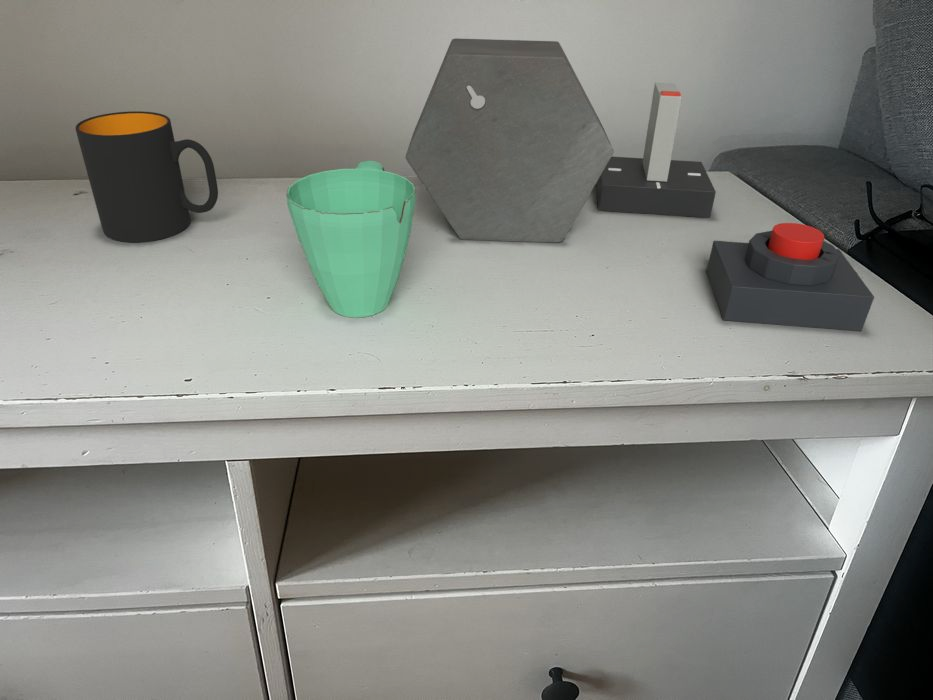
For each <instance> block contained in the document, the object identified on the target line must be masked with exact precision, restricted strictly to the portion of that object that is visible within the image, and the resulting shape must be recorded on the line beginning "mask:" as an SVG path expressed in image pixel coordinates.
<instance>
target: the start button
mask: <svg viewBox="0 0 933 700" xmlns="http://www.w3.org/2000/svg"><path fill="white" fill-rule="evenodd" d="M771 231H772V234H771V237H770V241H769V245H768V249H769V250H771V251H773V252H774V253H776V254H778V255H782V256H785V257H789V258H793V259H805V260H811V259H816V258H818V256H819V253H820V250H821V247H822V244H823V241H825V234H824V233H823V232H822V231H821V230H819V229H817V228H816V227H813V226H810V225H806V224H803V223H798V222H782V223H777V224H775V225H774V226H773V227H772V230H771Z"/></svg>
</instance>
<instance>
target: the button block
mask: <svg viewBox="0 0 933 700" xmlns="http://www.w3.org/2000/svg"><path fill="white" fill-rule="evenodd" d="M771 234H772V230H767V231H761V232H757V233H755V234H754V235H753V236H752V237H751V238H750V239H749V240H748V242H741V241H740V242H738V241H725V240H713V241H712V245H711V250H710V254H709V259H708V262H707V263H708V264H707V267H706V275H707V277H708V281H709V283H710V286H711V288H712V292H713V294H714V297H715V300H716V303H717V306H718V309H719V312H720V314H721V317H722V320H723V321H727V322H738V323H739V322H740V323H751V324H753V323H754V324H763V325H764V324H766V325H778V326H791V327H803V328H814V329H815V328H818V329H830V330H842V331H854V332H862V331H863V329H864V325H865V323H866V320H867V319H868V315H869V312H870V310H871V307H872V305H873V302H874V299H875V296H874V294H873V293H872V291H871V290H870V289H869V288H868V286H867V285H866V283H865V282H864V280H862V278H861V276H860V275H859V274H858V273H857V271H856V270H855V269H854V267H853V266H852V265H851V263H850V261H849V260H847V259H848V258H846V257H845V255H844V254H843V252H842V251H841V250H840V249H839V248H836V247H835V246H834V245H833V244H831V243H829V242H826V241H825V240H824V241H823V244H822V247H821V250H820V253H819V256H818V258H816V259H811V260H805V259H793V258H789V257H785V256H782V255H778V254H776V253H774V252H773V251H771V250H769V249H768V245H769V241H770V237H771Z"/></svg>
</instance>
